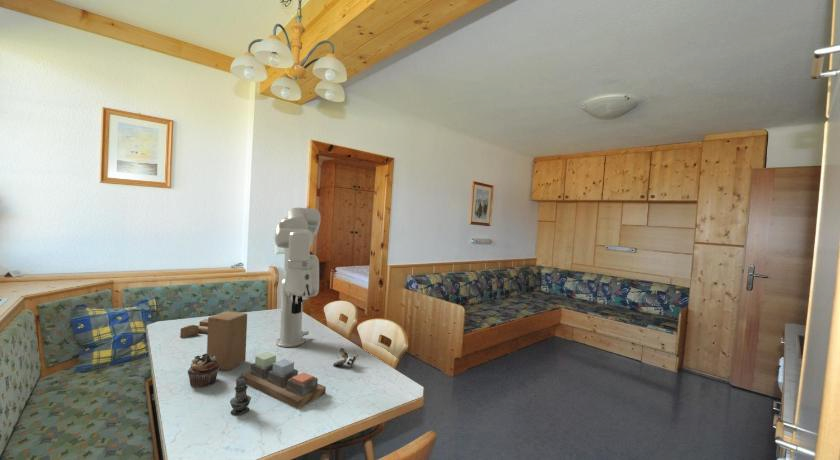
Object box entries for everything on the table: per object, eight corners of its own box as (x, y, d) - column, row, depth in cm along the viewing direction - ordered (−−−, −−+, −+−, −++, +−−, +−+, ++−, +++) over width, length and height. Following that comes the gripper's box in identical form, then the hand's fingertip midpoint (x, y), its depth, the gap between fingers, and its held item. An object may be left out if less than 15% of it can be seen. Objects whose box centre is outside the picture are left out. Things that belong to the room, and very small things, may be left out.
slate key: (284, 369, 127) (284, 358, 127) (293, 373, 124) (294, 362, 124) (272, 374, 123) (272, 363, 122) (281, 378, 120) (282, 367, 120)
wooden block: (227, 371, 134) (229, 319, 133) (205, 367, 136) (207, 317, 135) (245, 361, 143) (247, 313, 143) (224, 357, 145) (226, 310, 145)
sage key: (267, 362, 132) (267, 352, 132) (275, 365, 129) (276, 355, 129) (254, 366, 128) (255, 356, 128) (263, 370, 125) (264, 359, 125)
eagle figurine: (359, 360, 148) (341, 352, 151) (358, 350, 144) (339, 342, 147) (349, 375, 143) (331, 367, 145) (348, 365, 138) (328, 357, 141)
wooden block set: (204, 316, 182) (236, 319, 180) (203, 327, 182) (236, 330, 180) (178, 326, 165) (214, 329, 163) (178, 338, 165) (213, 341, 163)
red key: (302, 383, 122) (303, 372, 122) (312, 387, 119) (313, 376, 119) (291, 389, 118) (291, 377, 117) (301, 393, 115) (301, 381, 115)
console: (270, 370, 136) (271, 355, 136) (325, 393, 121) (326, 376, 121) (241, 381, 126) (241, 365, 126) (297, 409, 111) (298, 390, 111)
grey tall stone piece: (234, 405, 111) (236, 368, 110) (253, 406, 111) (255, 369, 111) (225, 416, 105) (227, 377, 104) (246, 416, 105) (247, 377, 105)
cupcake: (225, 378, 128) (226, 352, 127) (202, 391, 118) (203, 362, 118) (204, 374, 130) (205, 348, 130) (180, 386, 121) (181, 357, 121)
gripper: (320, 266, 129) (318, 314, 130) (293, 260, 136) (291, 306, 137) (304, 268, 122) (301, 319, 123) (276, 262, 130) (274, 310, 131)
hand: (296, 312), depth 130 cm, fingers closed
